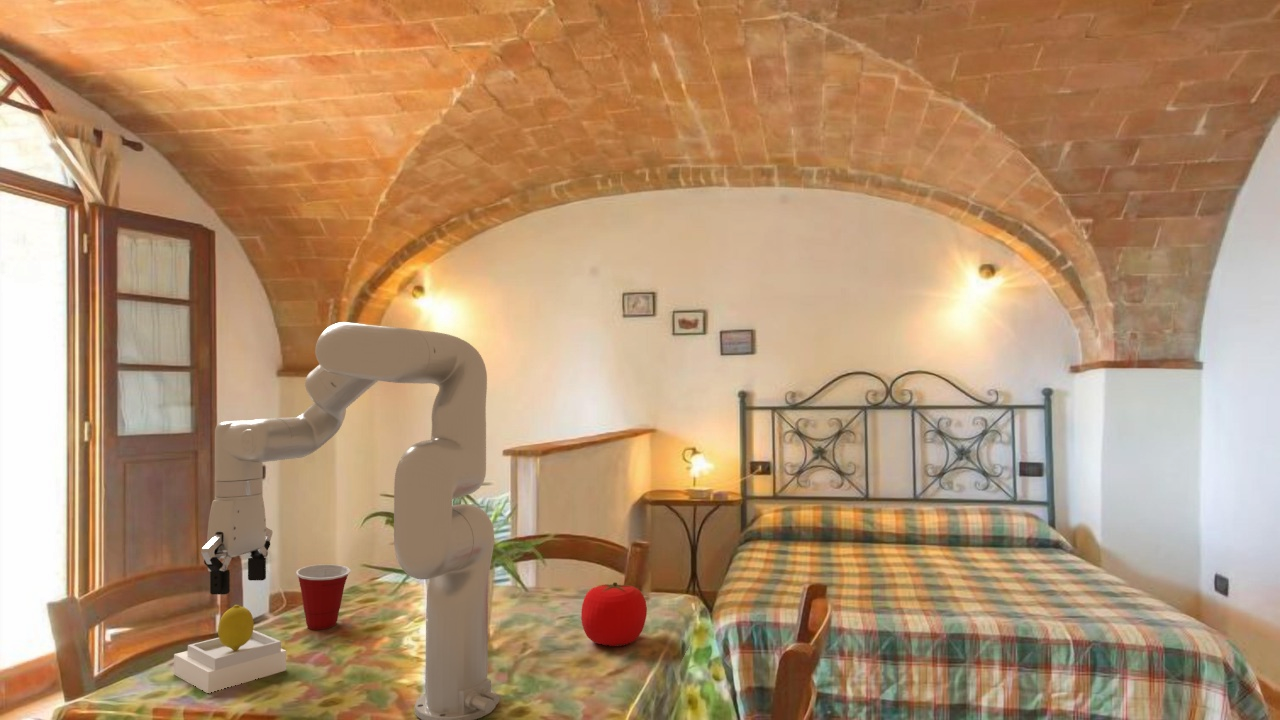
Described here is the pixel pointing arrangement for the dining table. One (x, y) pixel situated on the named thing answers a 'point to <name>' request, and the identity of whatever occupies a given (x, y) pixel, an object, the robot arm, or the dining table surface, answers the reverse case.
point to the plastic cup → (322, 593)
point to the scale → (229, 662)
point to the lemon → (235, 627)
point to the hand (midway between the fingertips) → (239, 586)
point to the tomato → (613, 614)
